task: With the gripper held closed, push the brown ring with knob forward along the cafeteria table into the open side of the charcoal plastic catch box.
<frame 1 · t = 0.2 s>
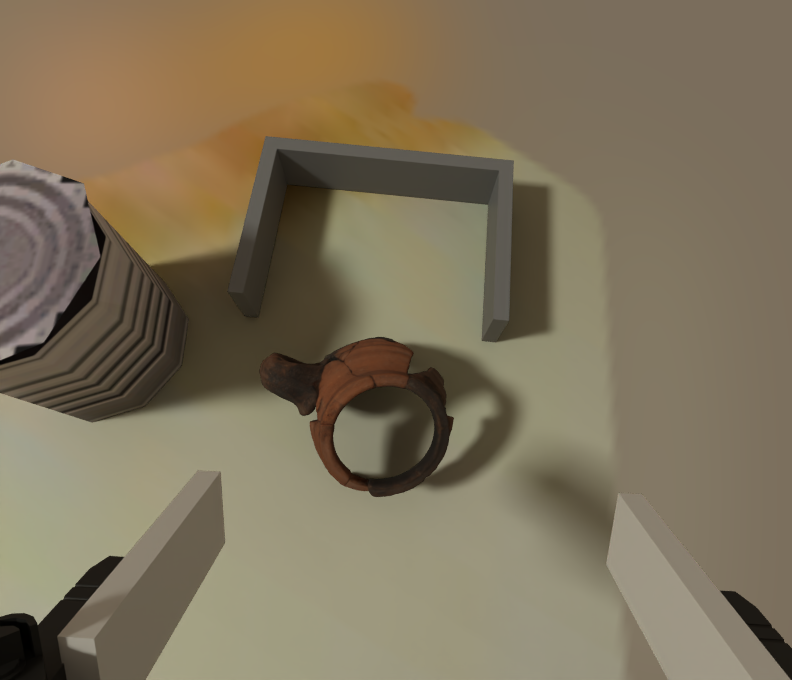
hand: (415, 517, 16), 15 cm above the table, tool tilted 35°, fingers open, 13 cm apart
can: (109, 343, 34), on the table
brown ring with knob: (360, 410, 33), on the table
catch box: (379, 252, 37), on the table
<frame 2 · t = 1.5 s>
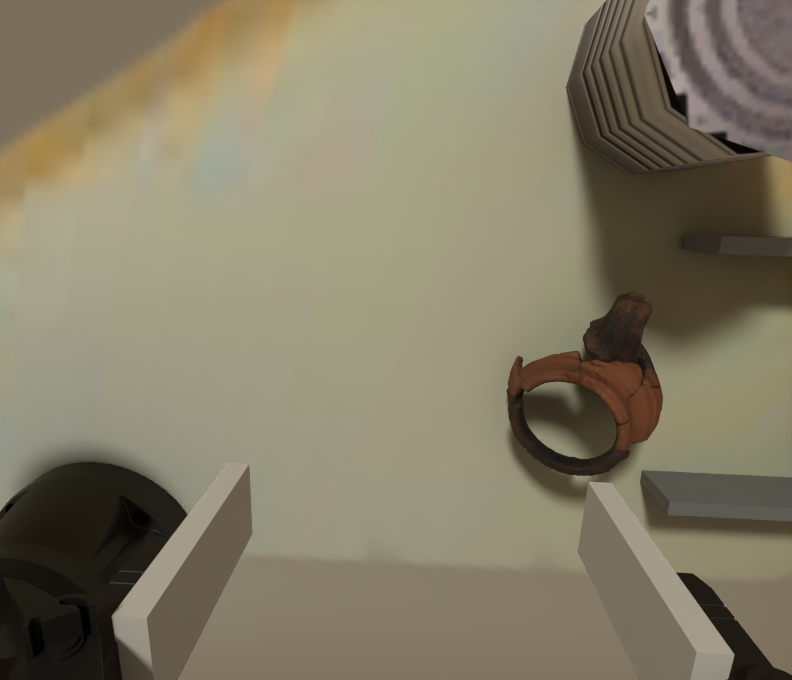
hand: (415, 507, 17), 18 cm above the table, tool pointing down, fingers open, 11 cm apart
can: (659, 79, 30), on the table
brown ring with knob: (579, 365, 34), on the table
catch box: (753, 370, 34), on the table
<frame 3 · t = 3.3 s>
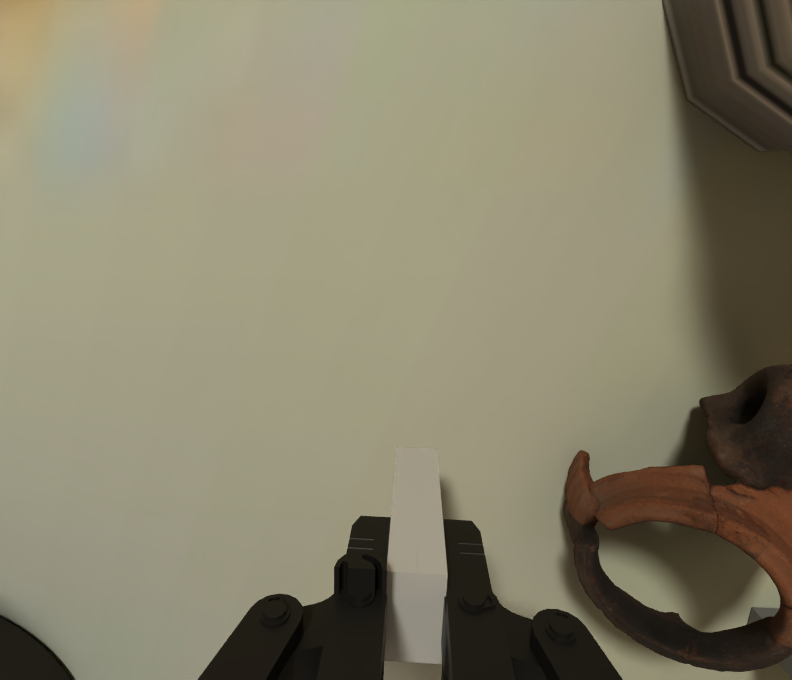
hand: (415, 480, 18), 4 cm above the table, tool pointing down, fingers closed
brown ring with knob: (673, 459, 22), on the table
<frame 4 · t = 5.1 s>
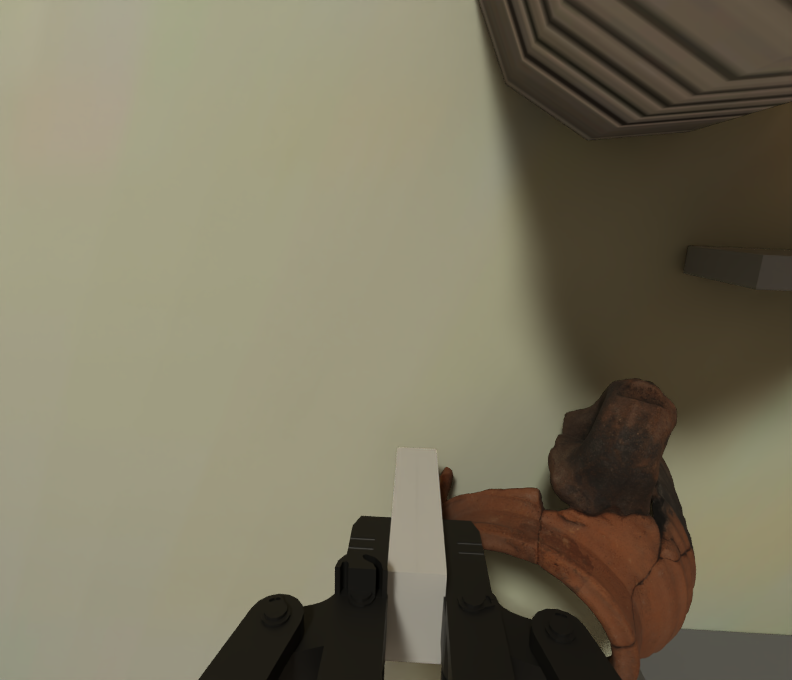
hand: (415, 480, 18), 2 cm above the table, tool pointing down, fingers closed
brown ring with knob: (550, 476, 21), on the table, touching gripper
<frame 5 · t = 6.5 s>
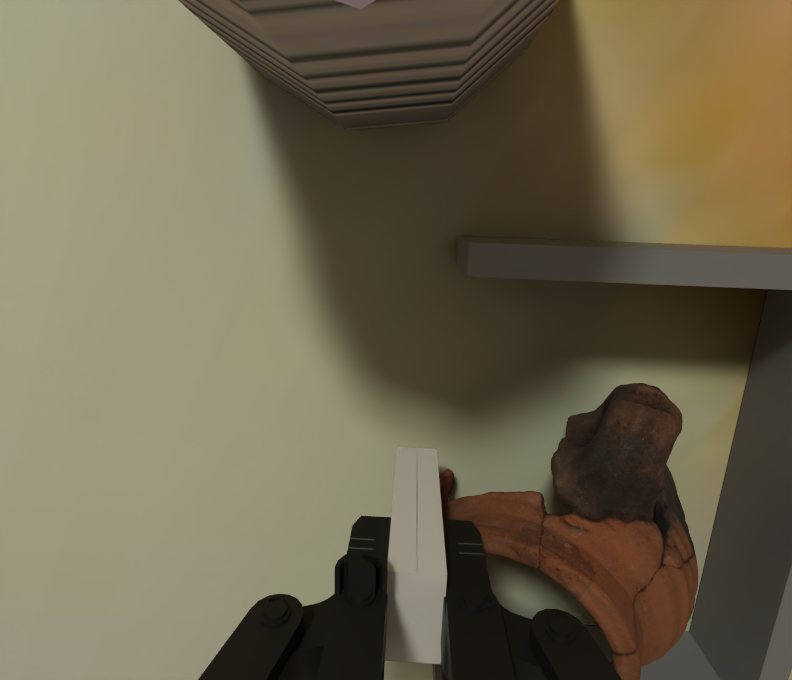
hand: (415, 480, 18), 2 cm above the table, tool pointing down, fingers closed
brown ring with knob: (552, 480, 21), on the table, touching gripper
catch box: (595, 465, 20), on the table
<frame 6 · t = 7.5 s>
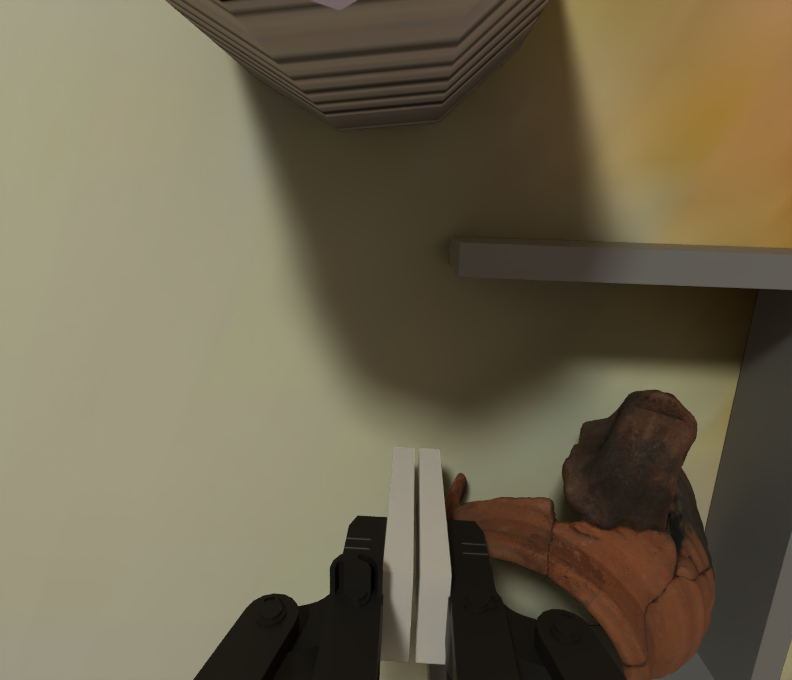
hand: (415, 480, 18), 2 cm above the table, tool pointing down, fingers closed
brown ring with knob: (567, 486, 20), on the table, touching gripper
catch box: (588, 464, 20), on the table
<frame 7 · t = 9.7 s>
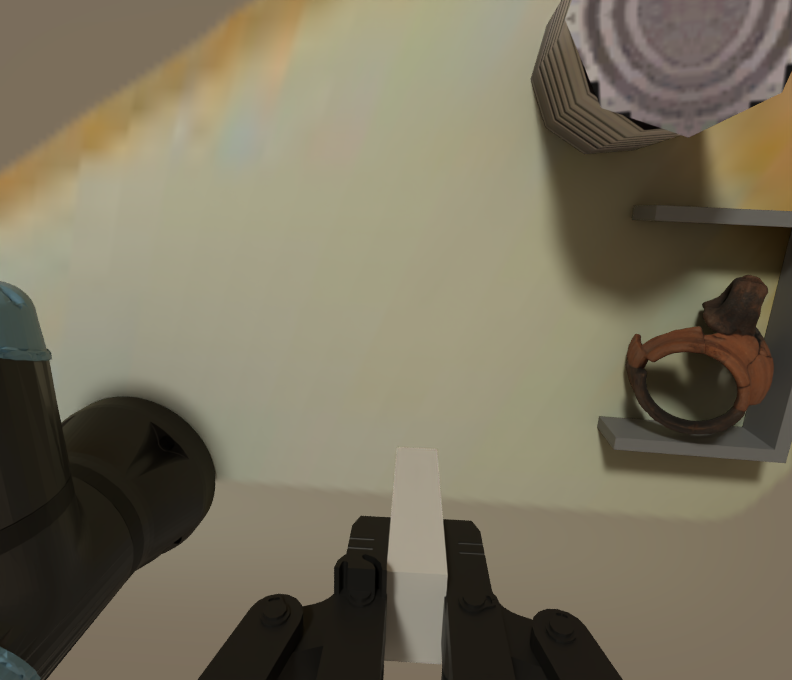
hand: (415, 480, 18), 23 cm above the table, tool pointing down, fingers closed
can: (611, 72, 35), on the table
brown ring with knob: (688, 342, 39), on the table
catch box: (696, 328, 39), on the table
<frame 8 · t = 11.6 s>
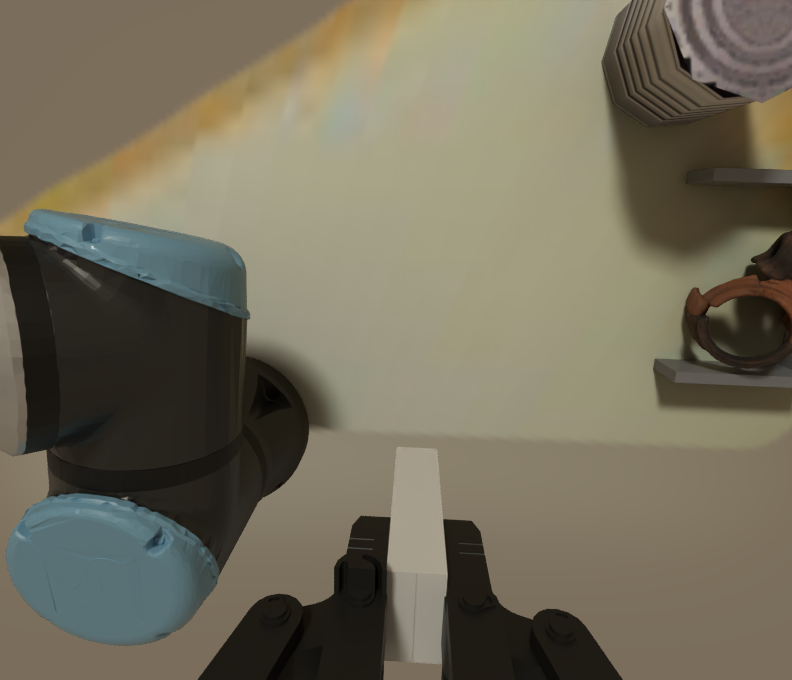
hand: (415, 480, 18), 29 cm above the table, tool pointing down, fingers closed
can: (669, 56, 41), on the table
brown ring with knob: (737, 293, 45), on the table
catch box: (739, 277, 45), on the table
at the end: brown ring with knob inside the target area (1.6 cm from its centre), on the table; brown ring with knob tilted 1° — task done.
